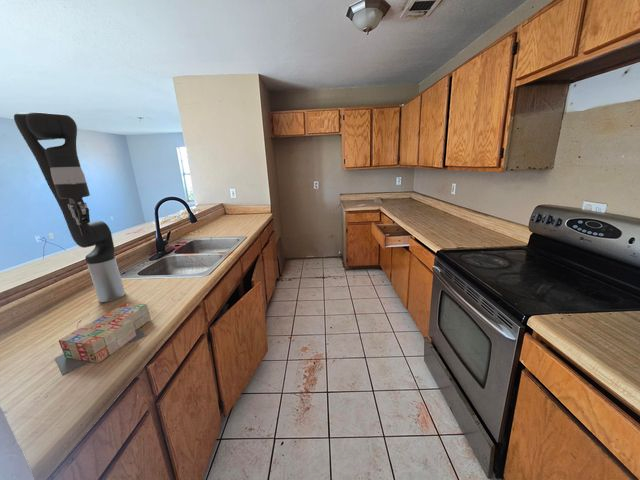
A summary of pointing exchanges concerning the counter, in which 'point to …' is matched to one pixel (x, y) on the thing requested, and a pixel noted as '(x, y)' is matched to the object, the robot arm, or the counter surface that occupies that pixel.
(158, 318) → the counter surface
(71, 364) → the mat
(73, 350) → the stack of blocks
